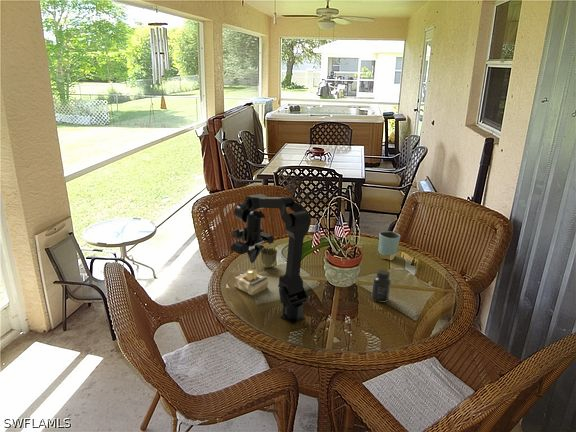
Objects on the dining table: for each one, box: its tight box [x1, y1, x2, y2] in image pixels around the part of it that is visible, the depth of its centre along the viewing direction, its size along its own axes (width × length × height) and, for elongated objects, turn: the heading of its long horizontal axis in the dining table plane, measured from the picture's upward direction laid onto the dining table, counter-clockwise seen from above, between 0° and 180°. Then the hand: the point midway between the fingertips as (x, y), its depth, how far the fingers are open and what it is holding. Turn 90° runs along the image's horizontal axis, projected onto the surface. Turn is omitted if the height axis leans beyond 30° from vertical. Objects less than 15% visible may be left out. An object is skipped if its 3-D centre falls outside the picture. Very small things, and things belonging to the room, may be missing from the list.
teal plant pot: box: [377, 230, 401, 255], centre depth 208 cm, size 10×10×12 cm
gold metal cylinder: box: [246, 268, 258, 282], centre depth 170 cm, size 4×4×7 cm
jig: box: [234, 272, 269, 296], centre depth 170 cm, size 10×9×5 cm
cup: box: [260, 247, 278, 269], centre depth 188 cm, size 8×7×8 cm
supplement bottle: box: [371, 269, 392, 302], centre depth 167 cm, size 7×7×12 cm
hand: (252, 262), depth 167 cm, fingers closed
